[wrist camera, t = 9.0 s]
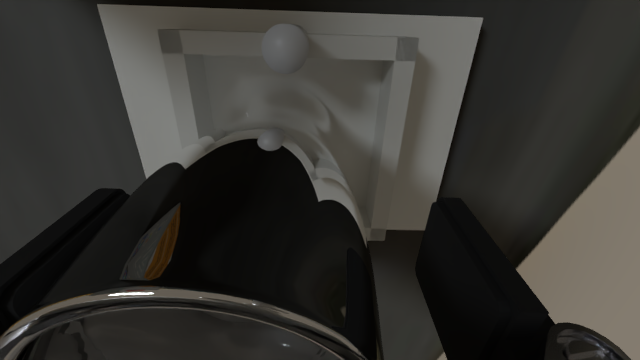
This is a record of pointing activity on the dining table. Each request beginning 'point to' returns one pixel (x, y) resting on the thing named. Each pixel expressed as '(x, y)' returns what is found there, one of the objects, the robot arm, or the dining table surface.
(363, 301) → the beer glass
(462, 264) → the robot arm
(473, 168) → the dining table surface
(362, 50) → the tray
